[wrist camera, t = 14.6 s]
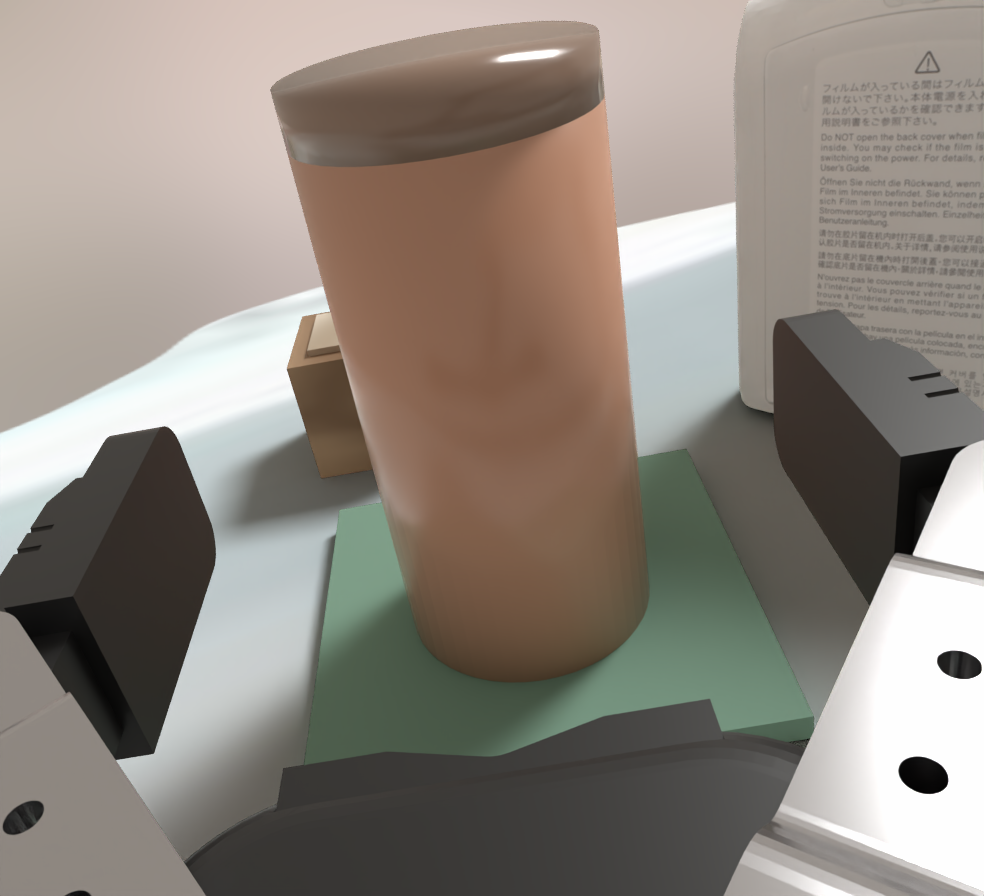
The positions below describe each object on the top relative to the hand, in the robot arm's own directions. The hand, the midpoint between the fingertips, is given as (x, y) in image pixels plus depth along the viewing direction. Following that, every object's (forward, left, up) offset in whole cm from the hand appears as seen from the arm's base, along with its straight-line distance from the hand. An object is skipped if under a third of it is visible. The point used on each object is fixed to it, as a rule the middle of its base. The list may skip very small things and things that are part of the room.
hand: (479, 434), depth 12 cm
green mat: (0, -6, -9) cm, 11 cm away
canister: (0, -6, -8) cm, 10 cm away
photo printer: (-12, -12, -9) cm, 20 cm away
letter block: (+4, -16, -9) cm, 19 cm away
